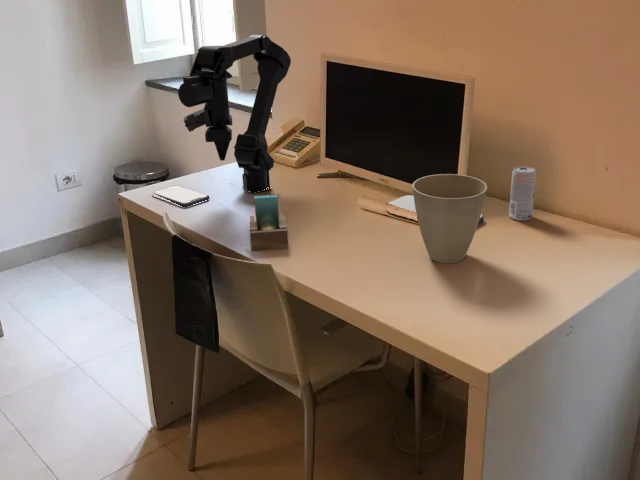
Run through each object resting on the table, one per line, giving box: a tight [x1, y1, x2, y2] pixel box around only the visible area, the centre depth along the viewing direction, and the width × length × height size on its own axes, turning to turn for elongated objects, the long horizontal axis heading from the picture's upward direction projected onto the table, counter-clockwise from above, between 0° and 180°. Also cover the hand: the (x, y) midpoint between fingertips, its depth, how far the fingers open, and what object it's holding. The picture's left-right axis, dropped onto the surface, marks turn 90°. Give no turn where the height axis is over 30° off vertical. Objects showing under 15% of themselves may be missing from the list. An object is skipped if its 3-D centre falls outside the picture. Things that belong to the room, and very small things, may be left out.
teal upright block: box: [253, 194, 280, 231], centre depth 154 cm, size 8×5×9 cm, turn 6°
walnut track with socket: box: [249, 213, 289, 252], centre depth 158 cm, size 17×8×4 cm, turn 6°
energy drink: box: [508, 165, 537, 222], centre depth 161 cm, size 5×5×12 cm
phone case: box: [153, 185, 210, 208], centre depth 185 cm, size 9×2×16 cm
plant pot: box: [412, 173, 488, 264], centre depth 141 cm, size 15×15×16 cm
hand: (222, 160), depth 174 cm, fingers closed
